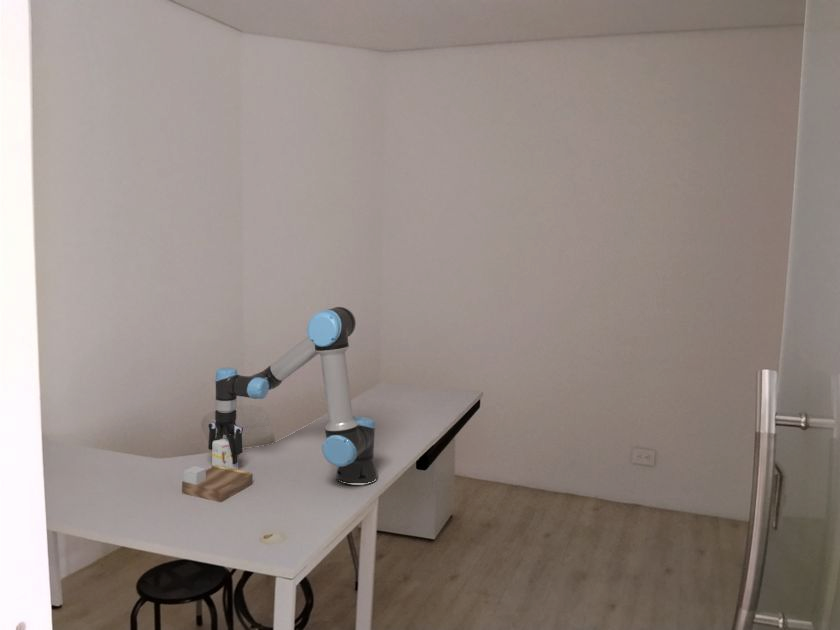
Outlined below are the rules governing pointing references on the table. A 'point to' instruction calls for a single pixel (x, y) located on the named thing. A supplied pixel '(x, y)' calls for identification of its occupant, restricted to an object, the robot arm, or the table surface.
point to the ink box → (221, 453)
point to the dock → (219, 484)
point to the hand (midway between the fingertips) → (225, 470)
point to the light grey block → (195, 475)
